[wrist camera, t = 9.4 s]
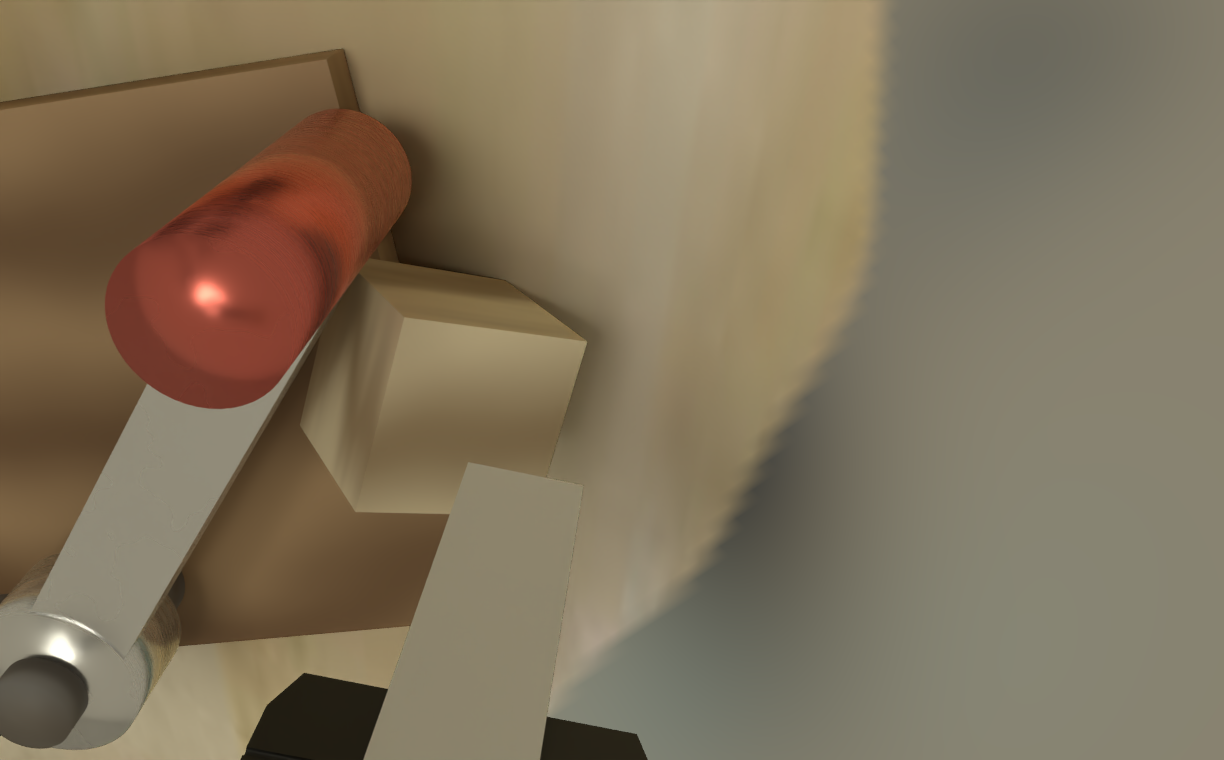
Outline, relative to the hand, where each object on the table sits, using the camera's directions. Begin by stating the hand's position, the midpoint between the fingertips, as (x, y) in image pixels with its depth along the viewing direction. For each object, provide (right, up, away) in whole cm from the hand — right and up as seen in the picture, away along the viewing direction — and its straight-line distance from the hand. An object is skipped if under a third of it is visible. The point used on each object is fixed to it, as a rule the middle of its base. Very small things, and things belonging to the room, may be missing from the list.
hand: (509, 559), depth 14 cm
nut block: (-5, +3, +16) cm, 17 cm away
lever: (-10, +1, +16) cm, 19 cm away
